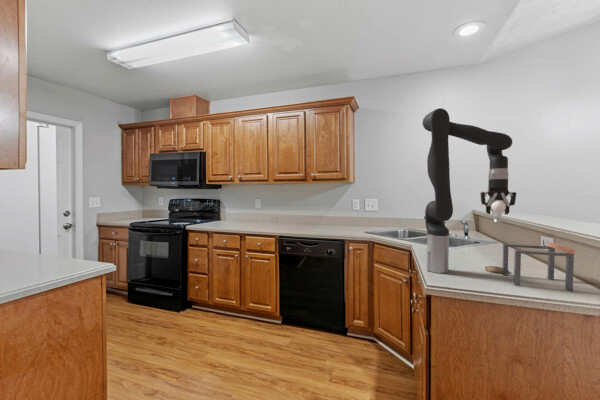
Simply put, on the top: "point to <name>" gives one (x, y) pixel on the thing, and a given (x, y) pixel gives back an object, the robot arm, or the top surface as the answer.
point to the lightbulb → (497, 209)
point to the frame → (550, 253)
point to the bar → (561, 248)
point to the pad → (494, 269)
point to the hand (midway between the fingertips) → (497, 214)
